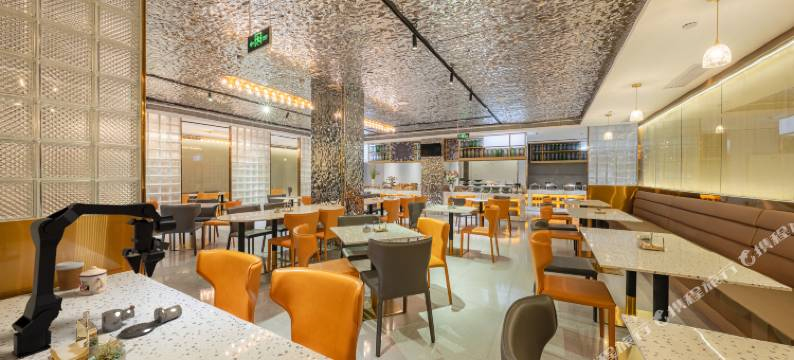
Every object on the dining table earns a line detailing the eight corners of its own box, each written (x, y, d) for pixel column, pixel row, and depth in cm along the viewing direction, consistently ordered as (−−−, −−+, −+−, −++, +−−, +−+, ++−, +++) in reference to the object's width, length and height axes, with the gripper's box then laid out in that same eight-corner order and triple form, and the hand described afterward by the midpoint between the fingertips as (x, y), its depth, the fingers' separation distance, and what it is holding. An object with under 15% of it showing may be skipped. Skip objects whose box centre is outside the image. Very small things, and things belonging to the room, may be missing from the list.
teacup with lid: (74, 294, 134) (74, 268, 134) (100, 287, 143) (100, 262, 143) (89, 298, 130) (89, 271, 130) (115, 290, 139) (115, 265, 139)
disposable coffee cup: (87, 287, 143) (87, 262, 143) (57, 293, 135) (57, 267, 134) (81, 283, 148) (81, 259, 148) (52, 289, 140) (52, 263, 140)
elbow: (105, 334, 100) (105, 316, 100) (98, 331, 103) (98, 313, 103) (137, 323, 108) (137, 306, 108) (129, 320, 110) (129, 304, 110)
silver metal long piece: (128, 341, 96) (128, 323, 96) (114, 334, 100) (114, 318, 100) (185, 318, 112) (185, 303, 112) (171, 313, 116) (171, 299, 116)
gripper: (180, 233, 119) (180, 272, 119) (154, 230, 127) (154, 266, 127) (147, 238, 109) (147, 281, 109) (121, 234, 117) (121, 274, 117)
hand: (143, 275), depth 116 cm, fingers open, 9 cm apart
